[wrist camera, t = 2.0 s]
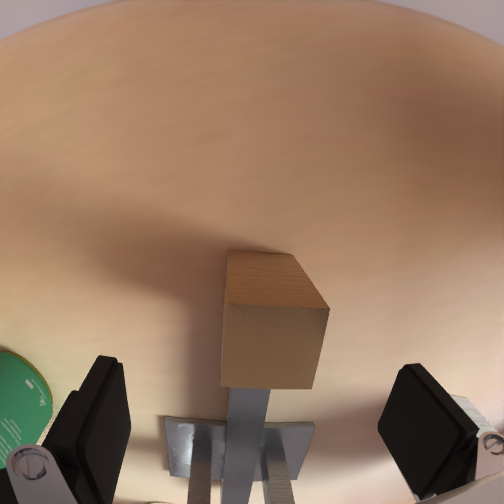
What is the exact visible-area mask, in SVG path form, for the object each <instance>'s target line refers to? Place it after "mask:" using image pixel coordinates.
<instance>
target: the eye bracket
mask: <svg viewBox="0 0 504 504" xmlns="http://www.w3.org/2000/svg"><path fill="white" fill-rule="evenodd" d="M314 428H315V426H314V423H313V422H297V423H264V427H263V432H262V438H261V443H260V448H259V453H258V458H257V463H256V468H255V473H254V478H253V481H262V483H263V492H264V500H265V504H295V502H294V497H293V492H292V487H291V482H290V480H297V477H298V474H299V472H300V469H301V466H302V463H303V460H304V458H305V455H306V452H307V449H308V446H309V443H310V440H311V437H312V434H313V431H314ZM225 430H226V421H211V420H198V419H187V418H178V417H169V416H166V417H165V432H166V442H167V452H168V461H169V470H170V476H176V477H185V478H189V488H188V500H187V504H210V493H211V480H221V478H222V466H223V454H224V442H225Z"/></svg>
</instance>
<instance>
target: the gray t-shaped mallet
mask: <svg viewBox="0 0 504 504" xmlns="http://www.w3.org/2000/svg"><path fill="white" fill-rule="evenodd" d="M329 311H330V308H329V306H328V305H327V303H326V302H325V301H324V299H323V298H322V296H321V295H320V293H319V292H318V290H317V289H316V288H315V286H314V285H313V283H312V282H311V280H310V279H309V277H308V276H307V275H306V273H305V272H304V270H303V269H302V267H301V266H300V265H299V263H298V262H297V260H296V259H295V257H294V256H293V255H286V254H274V253H262V252H250V251H238V250H228V254H227V266H226V278H225V290H224V303H223V322H222V351H221V387H229V395H228V406H227V418H226V430H225V442H224V454H223V466H222V478H221V491H220V503H221V504H248V501H249V497H250V492H251V487H252V483H253V478H254V473H255V468H256V463H257V458H258V453H259V448H260V443H261V438H262V432H263V427H264V422H265V416H266V411H267V405H268V400H269V394H270V389H312V385H313V381H314V377H315V373H316V369H317V365H318V361H319V357H320V352H321V348H322V344H323V339H324V335H325V330H326V325H327V321H328V316H329Z"/></svg>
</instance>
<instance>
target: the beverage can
mask: <svg viewBox="0 0 504 504" xmlns="http://www.w3.org/2000/svg"><path fill="white" fill-rule="evenodd" d="M52 403H53V398H52V393H51V391H50V388H49V386H48V384H47V382H46V381H45V379H44V378H43V376H42V375H41V373H40V372H39V371H38V370H37V369H36V368H35V367H34V366H33V365H32V364H31V363H30V362H29V361H27V360H26V359H25V358H23V357H22V356H20V355H18V354H16V353H13V352H10V351H0V469H2V468H5V467H6V460H7V456H8V455H9V453H10V452H11V451H12V450H13V449H15V448H16V447H18V446H21V445H25V444H34V445H36V443H37V441H38V439H39V438H40V436H41V434H42V432H43V431H44V429H45V427H46V425H47V424H48V422H49V420H50V419H51V417H52V413H53V408H52Z"/></svg>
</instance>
